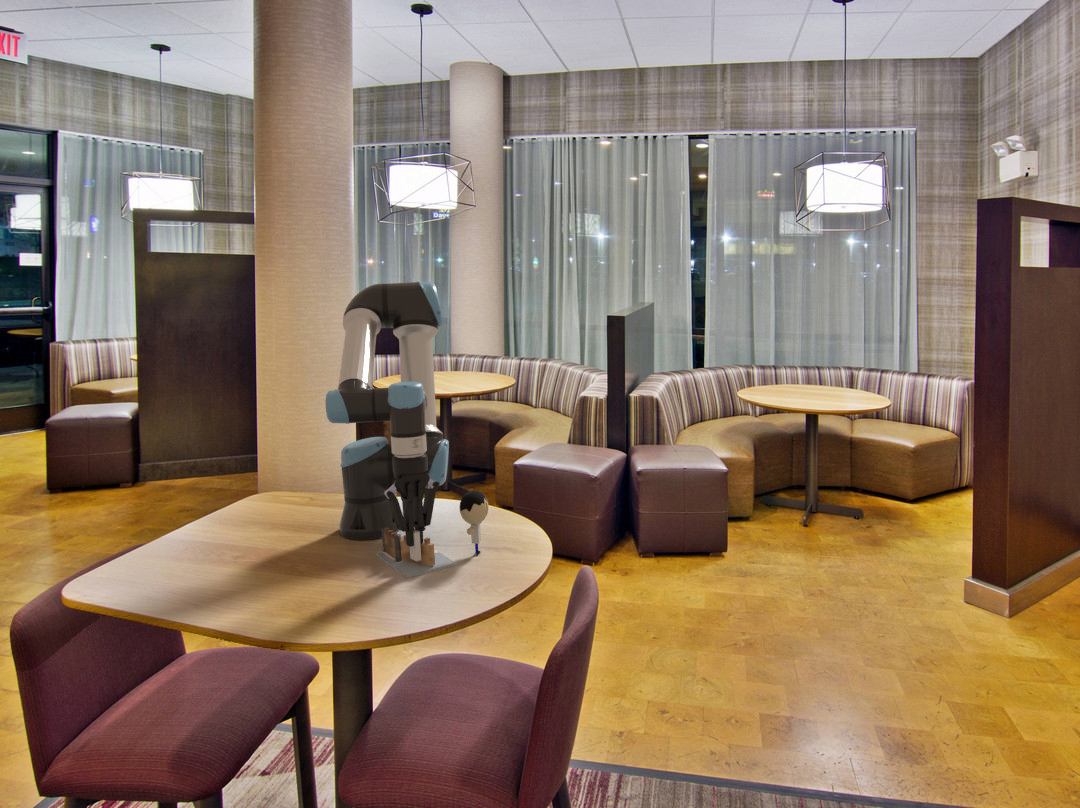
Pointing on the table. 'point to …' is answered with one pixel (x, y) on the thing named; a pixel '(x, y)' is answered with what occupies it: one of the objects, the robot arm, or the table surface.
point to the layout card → (413, 568)
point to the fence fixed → (391, 543)
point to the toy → (474, 514)
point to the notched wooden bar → (426, 552)
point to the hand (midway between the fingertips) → (415, 559)
